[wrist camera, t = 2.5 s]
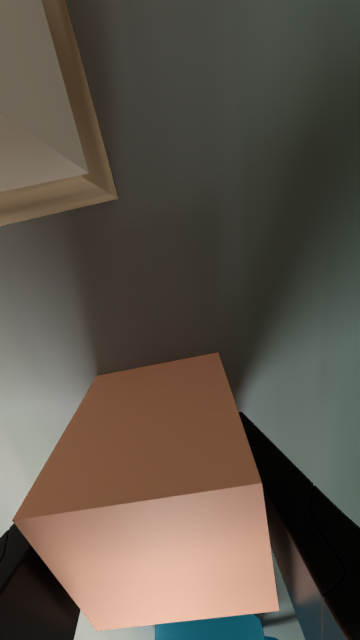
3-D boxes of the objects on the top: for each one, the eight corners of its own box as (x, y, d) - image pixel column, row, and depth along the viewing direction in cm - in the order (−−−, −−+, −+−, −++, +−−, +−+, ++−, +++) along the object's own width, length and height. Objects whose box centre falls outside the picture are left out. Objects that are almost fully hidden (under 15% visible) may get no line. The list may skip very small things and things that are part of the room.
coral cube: (96, 375, 9) (12, 520, 5) (218, 352, 9) (262, 482, 4) (132, 461, 11) (96, 630, 6) (235, 444, 11) (279, 611, 6)
